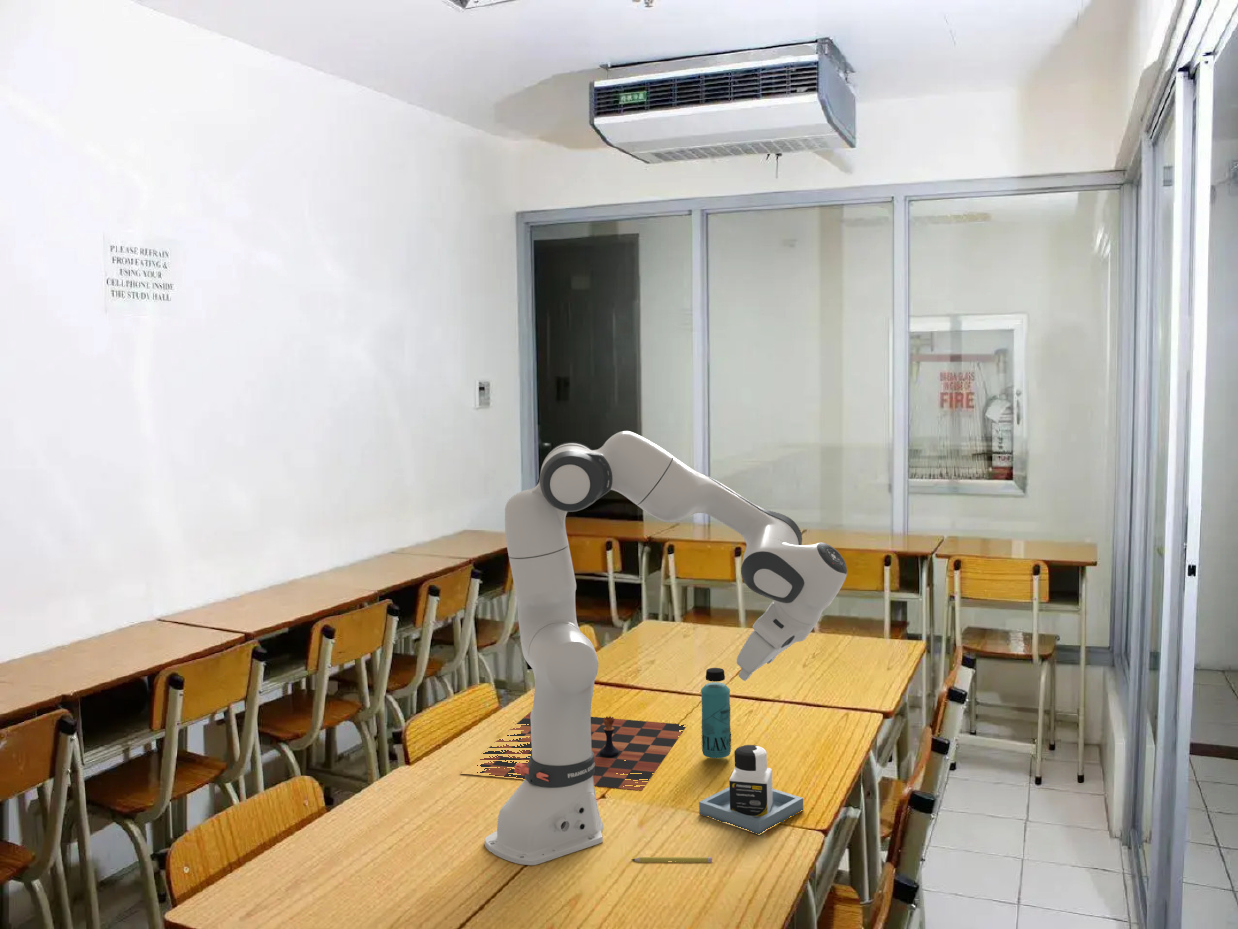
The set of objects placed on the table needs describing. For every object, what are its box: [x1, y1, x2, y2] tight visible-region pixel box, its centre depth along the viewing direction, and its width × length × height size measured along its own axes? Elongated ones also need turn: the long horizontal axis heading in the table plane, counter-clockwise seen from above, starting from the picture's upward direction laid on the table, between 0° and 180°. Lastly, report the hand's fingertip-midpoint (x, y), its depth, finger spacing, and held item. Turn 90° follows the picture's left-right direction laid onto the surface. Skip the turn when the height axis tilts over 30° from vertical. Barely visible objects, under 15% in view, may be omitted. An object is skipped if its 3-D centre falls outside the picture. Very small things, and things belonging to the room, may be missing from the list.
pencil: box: [631, 856, 713, 863], centre depth 181 cm, size 1×14×1 cm, turn 86°
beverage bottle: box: [700, 667, 732, 759], centre depth 226 cm, size 6×7×20 cm
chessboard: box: [477, 711, 687, 792], centre depth 236 cm, size 40×40×11 cm
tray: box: [698, 786, 804, 834], centre depth 199 cm, size 14×14×2 cm
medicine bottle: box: [728, 744, 773, 818], centre depth 199 cm, size 7×7×12 cm
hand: (755, 668), depth 201 cm, fingers open, 8 cm apart
